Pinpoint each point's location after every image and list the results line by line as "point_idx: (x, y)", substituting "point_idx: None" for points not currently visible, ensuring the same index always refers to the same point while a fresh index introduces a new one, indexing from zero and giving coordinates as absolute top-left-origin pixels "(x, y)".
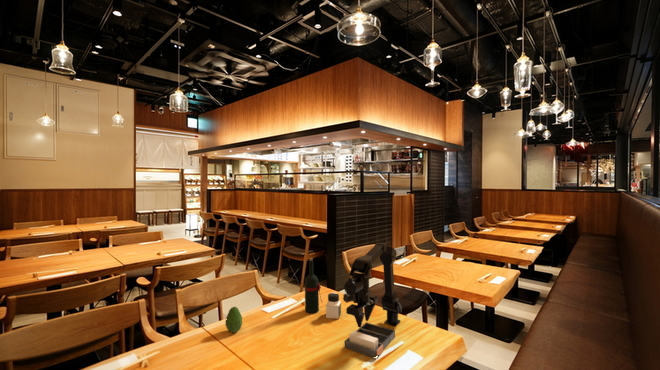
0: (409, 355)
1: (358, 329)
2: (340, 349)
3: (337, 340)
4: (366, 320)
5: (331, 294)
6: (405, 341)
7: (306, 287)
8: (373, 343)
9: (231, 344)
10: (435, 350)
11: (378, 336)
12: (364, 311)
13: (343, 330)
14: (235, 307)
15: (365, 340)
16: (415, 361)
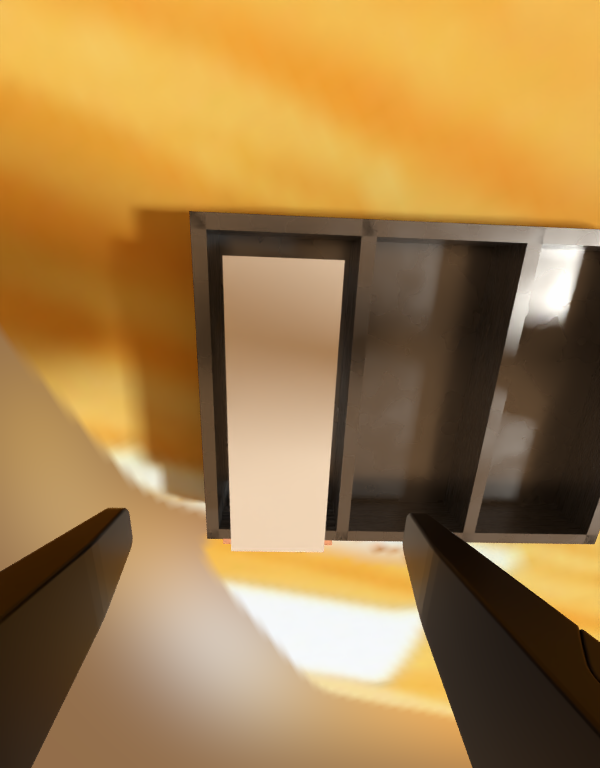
0: (368, 631)
1: (502, 234)
2: (160, 200)
3: (282, 68)
4: (407, 531)
5: None
6: (517, 575)
7: None
8: (233, 538)
9: None
10: None
11: (470, 446)
12: (539, 671)
13: (516, 4)
14: None
15: (229, 466)
16: (327, 665)
